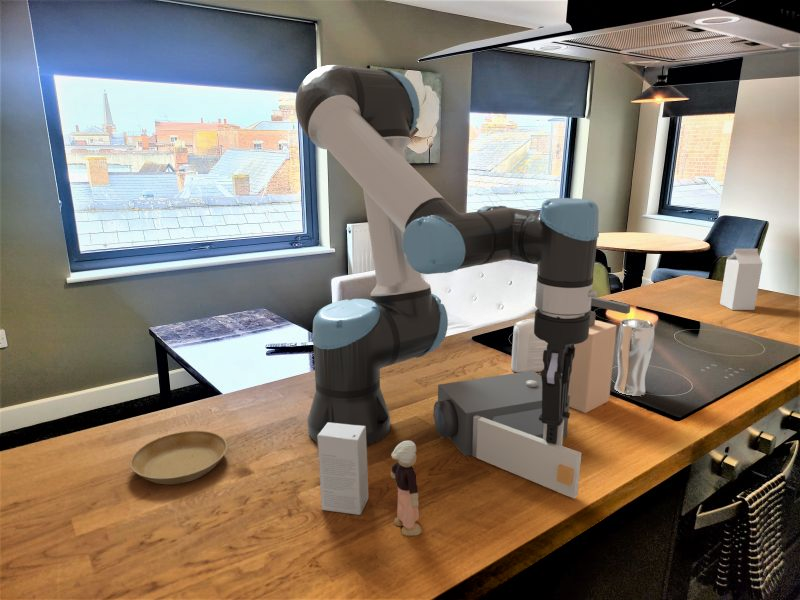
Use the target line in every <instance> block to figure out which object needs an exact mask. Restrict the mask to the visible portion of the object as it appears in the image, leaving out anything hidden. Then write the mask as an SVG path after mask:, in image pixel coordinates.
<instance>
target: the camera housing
mask: <svg viewBox="0 0 800 600" xmlns="http://www.w3.org/2000/svg"><path fill="white" fill-rule="evenodd" d="M569 402H570V395H568V399H567V403H568V405H567V407H566V408H565V412H569V411H570V407H569ZM569 413H570V412H569ZM540 415H542V378H541V374H540V373H538V372H535V371H526V372H515V373H514V372H512V373H506V374H501V375H494V376H488V377H487V376H486V377H479V378H474V379H473V378H472V379H465V380H459V381H454V382H453V381H452V382H446V383H439V384H437V401H435V402H434V405H433V422H434V426H435V430H436V431H437V433H438V435H439V437H441V438H442V439H446V438H447V439H449V440H450V441H451V440H452V443H453V445H455V446H456V448H457V449H458V450H459V451H460V452H461V454H462V455H463V456H464V457H468V456H472V442H473V417H474V416H480V417H483V418H486V419H489V420H492V421H495V422H497V423H500V424H503V425H506V426H509V427H511V428H514V429H517V430H520V431H522V432H525V433H528V434H531V435H534V436H536V437H539V438H542V439H543V430H544V423H542V421H540V420H539V417H540ZM562 419H564V429H563V438H567V436H568V423H569V418H564V417H562Z"/></svg>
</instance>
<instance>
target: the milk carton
mask: <svg viewBox="0 0 800 600" xmlns="http://www.w3.org/2000/svg"><path fill="white" fill-rule="evenodd" d="M762 270H763V262H762V258H761V257H760V255H759V249H758V248H734V251H733V253H732V254H731V255H729V256H728V257H727V258H726V263H725V268H724V273H723V282H722V288H721V293H720V300H719V304H720V305H722V306H724V307H725V308H728V309H729V310H731V311H755V309H756V303H757V298H758V292H759V285H760V281H761V274H762Z"/></svg>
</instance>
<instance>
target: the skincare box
mask: <svg viewBox="0 0 800 600" xmlns="http://www.w3.org/2000/svg"><path fill="white" fill-rule="evenodd" d="M317 440H318V442H317V455H318V467H319V470H318V471H319V485H320V503H321V511H327V512H336V513H344V514H350V515H357V516H358V515H359V516H361V515H362V513H363V511H364V508H365V506H366V504H367V502H368V500H369V482H368V481H369V480H368V478H369V477H368V475H369V473H368V472H369V471H368V451H367V449H368V448H367V447H368V445H366V426H359V425H349V424H339V423H329V422H328V423H327V424H326V425H325V427H324V428H323V429H322V430H321V432H320V433H319V434H318V435H317Z"/></svg>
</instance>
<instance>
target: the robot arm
mask: <svg viewBox="0 0 800 600" xmlns="http://www.w3.org/2000/svg"><path fill="white" fill-rule="evenodd" d="M415 88H416V87H415V86H414V84H413V83H412V81H411V80H410V79H409V78H407V77H406V76H405V75H403V74H402V73H401V72H396V71H393V70H392V71H391V70H389V69H385V68H378V69H376V68H367V67H359V66H345V65H340V64H329V65H324V66H319V67H318V68H316V69H314V70H313V71H311V72H310V73H309V74H308V75H307V76H305V78H304V79H303V80H302V82H301V83H300V85H299V87H298V89H297V93H296V98H295V114H296V119H297V121H298V123H299V126H300V128H301V130H302V131H303V132H304V134H305V135H306V136H307V138H308V139H309V140H310V141H311V142H312V143H313V144H314V145H315V146H316V147H317V148H319V149H323V150H327V151H329V153H330V154H331V155H332V156H333V157H334V158H335V159H336V160H337V161H338V163H339V164H340V165H341V166H342V167H343V168H344V170H345V171H347V173H348V174H349V175H350V176H351V177H352V178H353V179H354V180H355V181H356V183H357V184H358V185H359V186H360V187H361V188H362V189H363V197H364V204H365V212H366V218H367V225H368V230H369V231H368V232H369V237H370V246H371V253H372V258H373V266H374V272H375V279H376V284H375V287H374V288H373V289H372V291H371V292H370V299H371V300H370V299H368V298H352V299H344V300H343V299H341V300H338V301H335V302H331V303H330V304H327V305H325V306H323V307H322V308H320V309H319V310H318V311H317V312H316V314H315V316H314V318H313V321H312V334H311V340H312V345H313V361H314V364H313V365H314V377H315V378H314V381H315V392H314V397H313V398H312V399H313V400H312V403H311V407H310V409H309V414H308V416H307V432H308V436H309V437H310V438H311V439H312V440H313V441H314V442H316V443H318V440H317V435H318V434H319V433H320V432H321V430H322V429H323V428H324V427H325V425H326V424H327V423H328V422H329V423H339V424H349V425H359V426H366V445H367V446H369V445H372V444H374V443H377V442H379V441H380V440H382V439H383V438H385V437H386V436H387V434H388V433H389V432H390V429H391V416H390V415H391V414H390V412H389V409H388V407H387V406H388V405H387V403H386V401H385V397H384V395H383V393H382V389H381V380H380V379H381V374H380V373H381V372H380V371H381V369H382V368H385V367H389V366H392V365H395V364H397V363H402V362H405V361H407V360H411V359H415V358H416V359H417V358H420V357H423V356H425V355H427V354H428V353H431V352H434V351H436V349H439V347H440V346H441V344H442V343H443V342H444V340H445V338H446V336H447V333H448V332H447V331H448V323H449V322H448V321H449V319H448V312H447V309H446V307H445V304H443V303H441V302H442V300H441V299H440V297H439V296H437V295H436V294H434V293H432V288H431V285H430V284H429V283H428V282H427V281H426V280H424V278H422V274H424V275H432V274H449V273H452V272H454V271H457V270H463V269H467V268H470V267H476V266H482V265H488V264H493V263H497V262H502V261H515V262H516V261H517V262H521V263H526V264H532V265H537V270H536V271H537V274H536V275H537V277H536V285H535V287H536V288H535V300H534V301H535V302H534V305H535V308H537V309H536V310H535V312H534V318H535V320H534V334H535V335H536V337H538V338H539V339H541V340H544V341H545V342H547V343H548V344H547V350H544V352H543V362H544V369H543V370H542V371H540V376H541V378H542V415H540V417H539V420H540V421H542V423H544V430H543V439H545V440H546V442H548V443H552V444H559V445H561V446H563V440H564V437H563V429H564V419H562V417H564V418H568V419H570V415H571V412H565V408H566V407H567V405H568V403H567V399H568V391H569V382H570V374H571V372H572V362H573V359H574V357H575V347H574V344H579V343H582V342H584V341H585V340H587V338H588V336H589V325H590V315H589V314H588V311H590V309H591V310H592V306H591V297H597V296H598V293H597V291H596V290H592V288H593V286H594V285H593V284H594V271H595V263H596V253H597V244H598V238H599V236H600V231H599V213H600V212H599V207H598V204H597V203H596V202H595V201H593V200H590V199H585V198H576V197H575V198H569V197H557V198H549V199H548V198H547V199H546V200H544V201H543V202H542V204H541V208H540V210H537V211H536V210H531V209H529V210H528V209H523V208H521V209H520V208H513V207H507V206H506V205H497V206H493V205H491V206H490V205H489V206H488V205H486V206H483V207H480V208H478V210H477V211H471V212H460V211H457V209H456V208H455V207H454V206H452V205H451V203H449V201H447V200H446V199H445V198H444V197H443V196H442V195H441V194H440V192H439V191H438V190H436V189H435V187H433V186H432V185H431V184H430V183H429V182H428V181H427V180H426V179H425V178H424V177H423V176H422V175H421V174H420V173H419V172H418V171H417V170H416V169H415V168H414V167H413V166H412V165H411V164H410V163H409V162H408V161H407V160H406V156H405V150H406V149H407V148H408V145H409V144H411V141H412V140H411V133H412V132H413V131H414V130H415V129H416V126H417V124H418V121H417V120H418V119H419V117H420V113H421V112H420V110H421V109H420V101H419V96H418V92H417V90H416V89H415Z"/></svg>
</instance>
